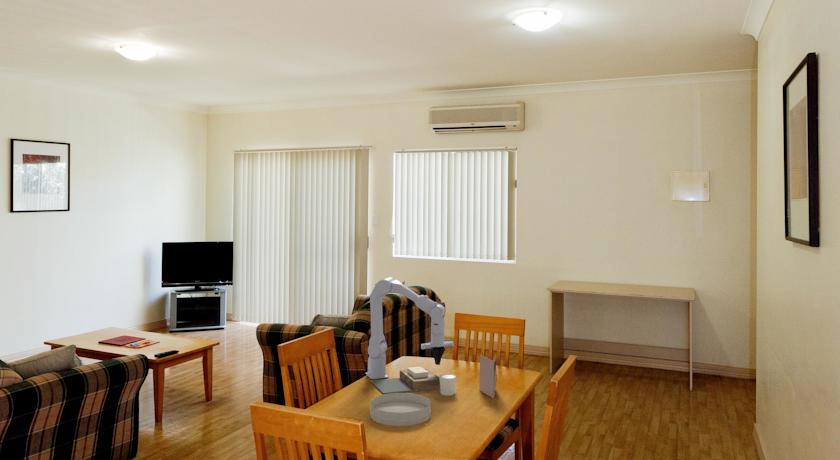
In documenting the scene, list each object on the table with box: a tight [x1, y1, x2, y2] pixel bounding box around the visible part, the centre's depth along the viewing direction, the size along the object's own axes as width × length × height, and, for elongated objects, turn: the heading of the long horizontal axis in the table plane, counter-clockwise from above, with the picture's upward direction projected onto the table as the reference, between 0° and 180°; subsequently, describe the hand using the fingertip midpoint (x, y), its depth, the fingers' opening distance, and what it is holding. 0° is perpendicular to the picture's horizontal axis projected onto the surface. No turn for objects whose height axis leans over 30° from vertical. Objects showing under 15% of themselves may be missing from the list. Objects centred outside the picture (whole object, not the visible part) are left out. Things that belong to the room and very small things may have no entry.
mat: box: [370, 377, 414, 395], centre depth 255 cm, size 18×12×1 cm
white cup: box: [438, 373, 457, 396], centre depth 247 cm, size 7×7×7 cm
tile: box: [407, 365, 428, 378], centre depth 259 cm, size 9×6×2 cm, turn 21°
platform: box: [399, 367, 440, 392], centre depth 259 cm, size 18×12×4 cm, turn 21°
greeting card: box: [478, 354, 498, 399], centre depth 246 cm, size 11×7×15 cm, turn 168°
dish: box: [369, 392, 432, 427], centre depth 222 cm, size 22×22×5 cm
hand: (437, 364), depth 262 cm, fingers closed
